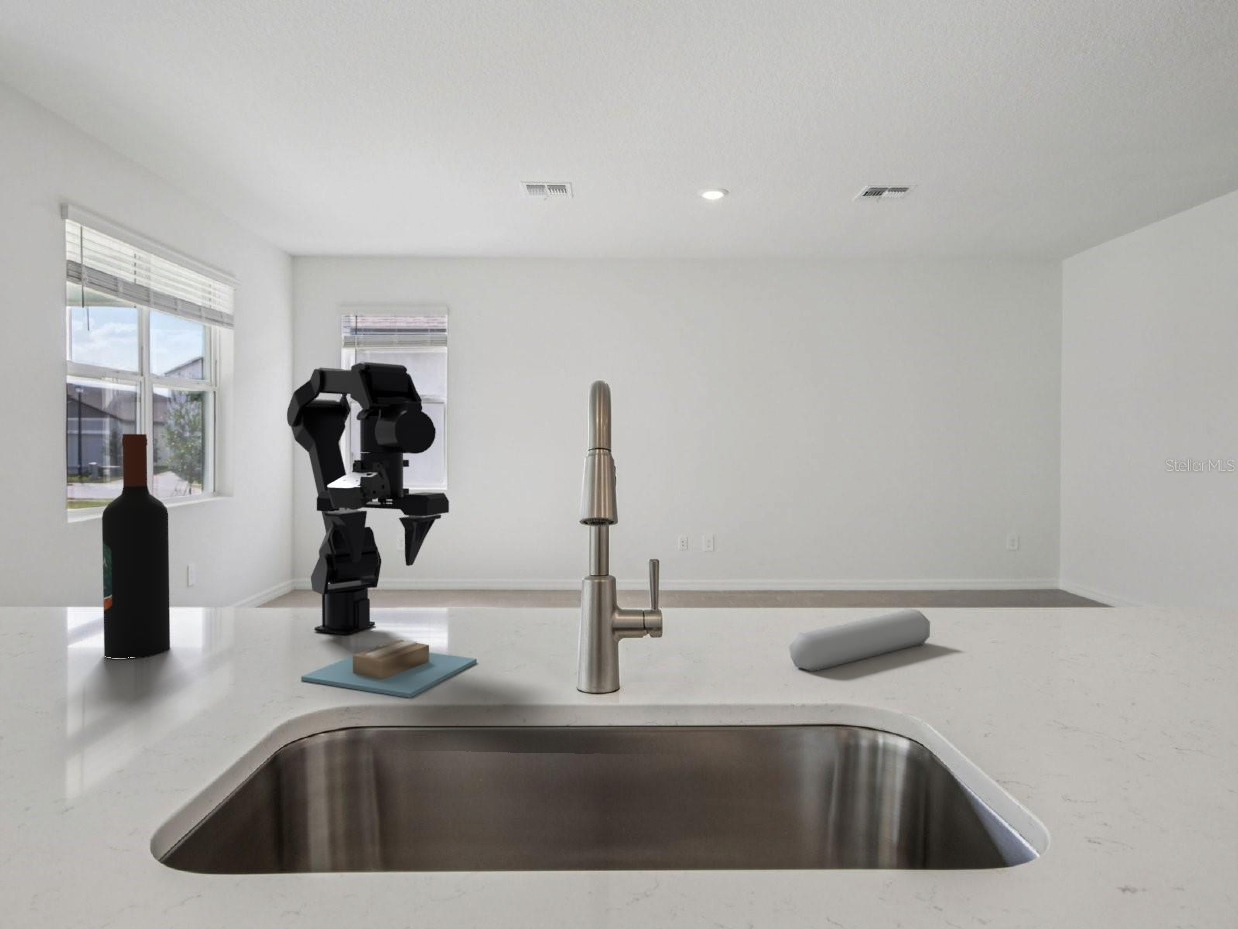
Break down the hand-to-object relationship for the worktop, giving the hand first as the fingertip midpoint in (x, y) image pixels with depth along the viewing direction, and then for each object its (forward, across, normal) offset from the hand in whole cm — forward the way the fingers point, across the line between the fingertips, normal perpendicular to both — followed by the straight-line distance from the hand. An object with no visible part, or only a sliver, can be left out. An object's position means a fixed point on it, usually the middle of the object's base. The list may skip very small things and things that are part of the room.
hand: (382, 563), depth 100 cm
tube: (+12, +63, +22) cm, 68 cm away
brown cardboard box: (+12, +8, -8) cm, 16 cm away
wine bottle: (+12, -30, -14) cm, 35 cm away
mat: (+12, +8, -8) cm, 16 cm away
